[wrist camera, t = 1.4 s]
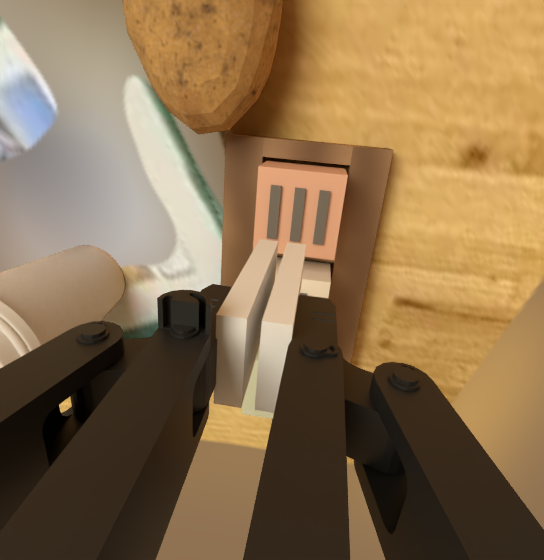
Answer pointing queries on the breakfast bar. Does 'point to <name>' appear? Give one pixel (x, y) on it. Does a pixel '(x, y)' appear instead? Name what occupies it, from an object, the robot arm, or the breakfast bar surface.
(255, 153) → the board
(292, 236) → the tile
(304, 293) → the tile
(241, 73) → the potato
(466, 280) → the breakfast bar surface
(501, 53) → the breakfast bar surface
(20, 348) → the coffee cup
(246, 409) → the slotted block
